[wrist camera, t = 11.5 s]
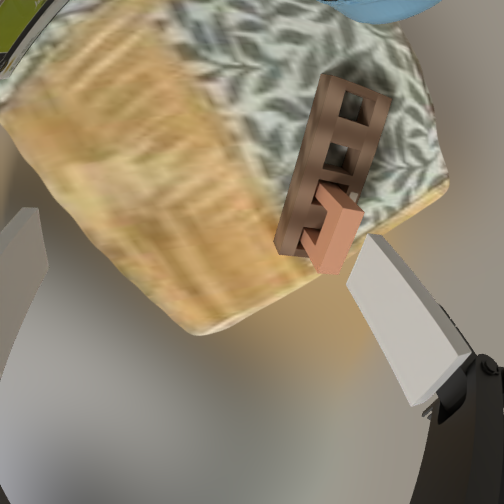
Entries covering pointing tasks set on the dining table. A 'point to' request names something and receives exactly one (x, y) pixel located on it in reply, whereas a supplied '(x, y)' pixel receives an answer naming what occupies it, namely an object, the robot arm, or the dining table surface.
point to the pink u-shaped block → (332, 229)
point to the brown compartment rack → (315, 150)
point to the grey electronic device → (22, 28)
